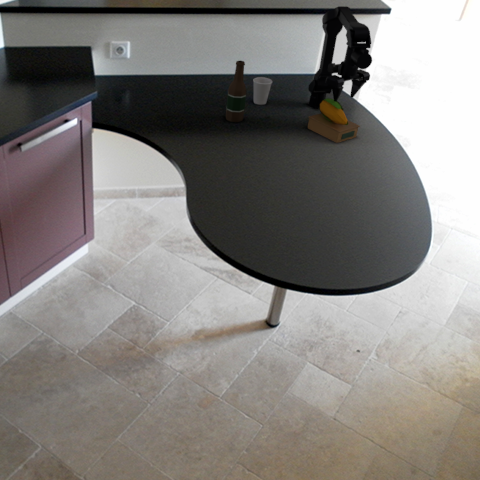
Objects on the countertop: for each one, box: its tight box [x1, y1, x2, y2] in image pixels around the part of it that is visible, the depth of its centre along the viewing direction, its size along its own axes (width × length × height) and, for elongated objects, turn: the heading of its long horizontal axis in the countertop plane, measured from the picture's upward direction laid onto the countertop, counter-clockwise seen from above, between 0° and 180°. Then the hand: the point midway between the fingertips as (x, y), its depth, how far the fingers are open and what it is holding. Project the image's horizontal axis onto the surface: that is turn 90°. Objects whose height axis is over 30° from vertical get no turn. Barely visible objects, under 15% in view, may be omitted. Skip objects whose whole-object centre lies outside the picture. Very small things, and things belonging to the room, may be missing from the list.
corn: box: [318, 97, 348, 125], centre depth 233 cm, size 7×8×20 cm
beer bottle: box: [225, 60, 247, 123], centre depth 239 cm, size 8×8×24 cm
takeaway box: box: [307, 112, 361, 144], centre depth 236 cm, size 17×12×5 cm
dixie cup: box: [252, 76, 273, 106], centre depth 260 cm, size 8×8×10 cm
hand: (343, 99), depth 234 cm, fingers open, 9 cm apart
